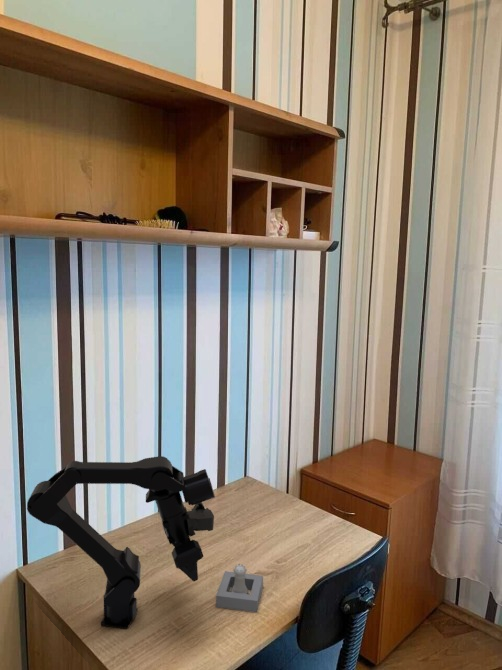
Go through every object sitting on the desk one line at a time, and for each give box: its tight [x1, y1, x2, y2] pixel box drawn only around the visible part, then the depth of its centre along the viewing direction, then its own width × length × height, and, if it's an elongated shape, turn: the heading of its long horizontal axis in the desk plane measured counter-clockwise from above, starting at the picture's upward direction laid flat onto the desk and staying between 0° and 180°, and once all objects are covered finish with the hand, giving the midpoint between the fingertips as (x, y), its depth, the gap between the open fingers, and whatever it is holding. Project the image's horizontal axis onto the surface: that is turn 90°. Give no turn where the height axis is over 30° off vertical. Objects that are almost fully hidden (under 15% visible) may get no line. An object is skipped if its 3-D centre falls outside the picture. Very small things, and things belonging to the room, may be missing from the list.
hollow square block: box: [215, 570, 264, 613], centre depth 128 cm, size 10×10×3 cm
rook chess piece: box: [230, 563, 249, 594], centre depth 128 cm, size 4×4×8 cm
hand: (191, 569), depth 121 cm, fingers open, 9 cm apart
